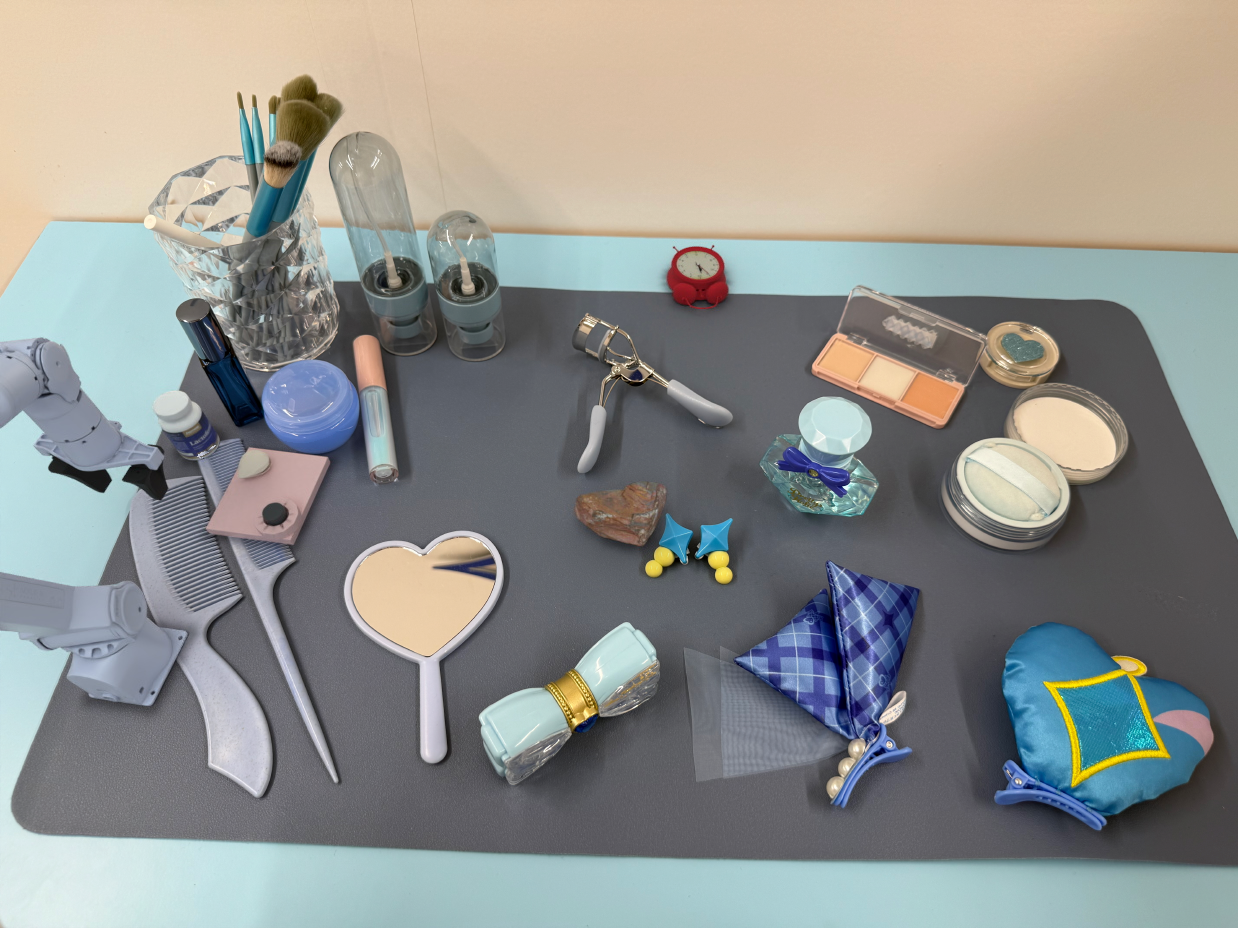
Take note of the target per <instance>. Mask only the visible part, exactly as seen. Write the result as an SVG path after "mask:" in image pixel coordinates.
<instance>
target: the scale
mask: <svg viewBox="0 0 1238 928" xmlns="http://www.w3.org/2000/svg"><path fill="white" fill-rule="evenodd" d="M251 450H260V451H263V452H265V453H266V454H267V455H268V457H269V458H270V460H271V466H270V469H269V470H268V471H267V472H265V473H263V474H261V475H259V476H254V477H248V478H241V479H239V478H238V468H237V469H236V470H235V473H234V475H233V476H232V479H230V482H229V484H228V486H227V487H226V490H225V491H224V493H223V495H222V497H221V499H220V501H219V503H218V505H217V507H216V508H215V511H214V512H213V514H212V516H211V518H210V519H209V521H208V523H207V526H206V527H205V530H206V531H207V532H208V533H209V534H211V535H215V536H216V535H217V536H225V537H231V538H239V539H240V538H241V539H246V540H247V539H248V540H255V541H261V542H269V543H277V544H284V545H291V546H293V545H295V543H296V541H297V538H298V536H299V534H300V532H301V529H302V527H303V526H304V523H305V521H306V519H307V516H308V514H309V512H310V509H311V507H312V505H313V503H314V501H315V498H316V496H317V494H318V491H319V489H320V487H321V486H322V483H323V480H324V479H325V476H326V474H327V471H328V469H329V467H330V465H331V461H330V458H329V457H328V456H323V455H322V456H321V455H314V454H307V453H297V452H291V451H290V452H288V451H282V450H273V449H265V448H258V447H250V446H249V447H248V448H247V450H246V452H248V451H251ZM274 502H277V503H280V504H282V505H283V507H284V508H285V510H286V511H287V518H286V520H285V521H284V522H283V523H282V524H280V525H276V526H272V525H269V524H268V523H267V522H266V520H265V519H264V517H263V516H262V511H263V509H264V508H265V507H266V506H267V505H268V504H270V503H274Z"/></svg>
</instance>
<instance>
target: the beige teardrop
mask: <svg viewBox="0 0 1238 928" xmlns="http://www.w3.org/2000/svg"><path fill="white" fill-rule="evenodd" d="M270 466H271V460H270V458H269V457H268V455H267V454H266V453H265V452H263V451H260V450H251V451H248V452H247V451H246V452H245V453H243V454H242V456H241V457H240V460H239V462H238V467H237V469H238V478H239V479H241V478H248V477H254V476H259V475H261V474H263V473H265V472H267V471H268V470H269V469H270Z"/></svg>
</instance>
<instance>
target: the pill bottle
mask: <svg viewBox="0 0 1238 928" xmlns="http://www.w3.org/2000/svg"><path fill="white" fill-rule="evenodd" d="M152 411H153V412H154V414H155V416H156V418H157V422H158V425H159V427H160V429H161V430H162V431H163V433H164V434H165V436H166V437H167V438H168V440H169V441H170V442H171V444H172V445H173V447H174V448H175V449H176V451H177V452H178V454H179V455H180V456H181V457H182V458H184V459H186V460H188V461H200V460H204V459H206V458H209V457H210V456H212V455H213V454H214V453H215V452H216V451H217V450H218V448H219V445H220V435H219V434H218V433H217V431H216V430H215V428H214V426H213V425H212V423H211V421H210V420H209V418H208V417H207V416H206V414H205V412H204V411H203V409H202V408H201V406H200V405H199V404H198V403H196V402H195V401H193V400H191V398H190V397H189V395H188V394H187V393H186V392H184V391H182V390H170V391H165V392H163V393H161V394H160V395H158V396H157V397H156V398H155V400H154V401H153V403H152ZM214 445H216V446H215V447H214V448H213V449H212V450H211V451H210V452H209V453H207V454H205V455H203V456H200V457H201V459H200V458H199V457H197V456H198V454H200V453H201V452H204V451H208V450H209V449H210V448H211V447H212V446H214ZM202 457H203V458H204V459H203V458H202Z"/></svg>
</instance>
